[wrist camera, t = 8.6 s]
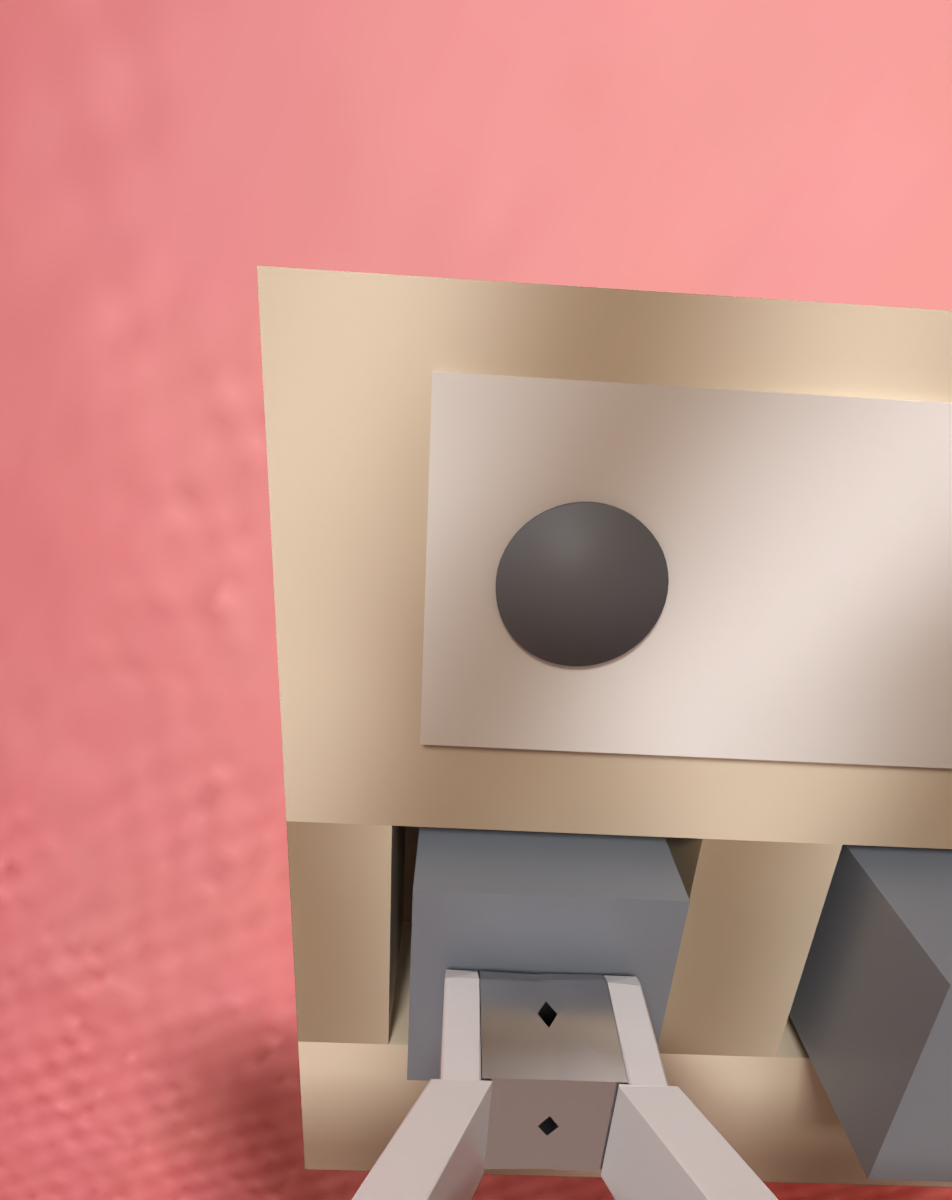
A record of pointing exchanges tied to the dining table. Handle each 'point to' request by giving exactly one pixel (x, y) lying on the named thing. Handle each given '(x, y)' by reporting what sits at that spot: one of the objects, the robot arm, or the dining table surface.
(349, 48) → the dining table surface
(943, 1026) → the middle button
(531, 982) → the robot arm
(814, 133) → the dining table surface
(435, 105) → the dining table surface
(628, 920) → the button
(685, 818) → the button board
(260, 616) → the dining table surface
